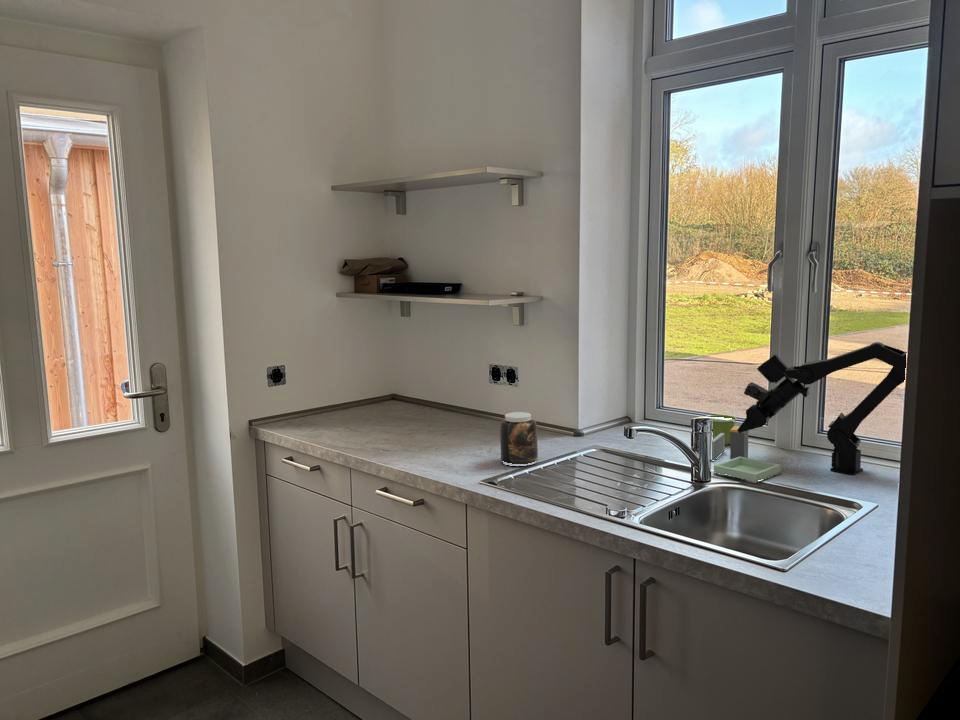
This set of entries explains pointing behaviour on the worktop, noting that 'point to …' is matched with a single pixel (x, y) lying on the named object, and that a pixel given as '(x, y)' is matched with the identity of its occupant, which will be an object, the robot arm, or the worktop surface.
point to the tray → (748, 469)
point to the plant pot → (723, 427)
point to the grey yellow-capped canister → (738, 443)
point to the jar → (518, 438)
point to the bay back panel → (718, 445)
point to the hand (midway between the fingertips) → (742, 428)
